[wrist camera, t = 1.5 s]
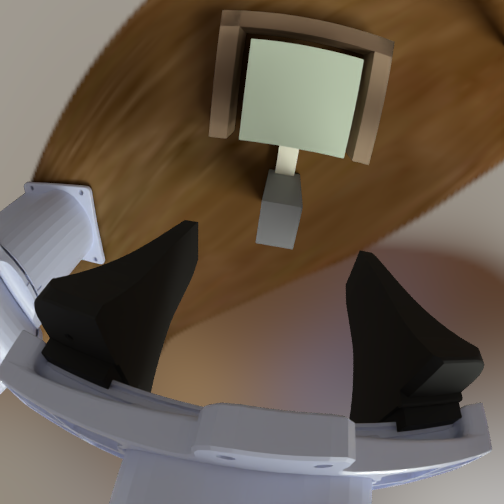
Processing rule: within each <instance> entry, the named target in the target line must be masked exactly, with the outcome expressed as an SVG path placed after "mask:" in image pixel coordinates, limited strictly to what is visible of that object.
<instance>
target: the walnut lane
mask: <svg viewBox="0 0 504 504" xmlns="http://www.w3.org/2000/svg"><path fill="white" fill-rule="evenodd" d="M246 33H247V34H259V35H269V36H277V37H285V38H292V39H298V40H304V41H309V42H314V43H319V44H324V45H328V46H333V47H337V48H341V49H345V50H349V51H352V52H356V53H359V54H363V60H364V62H363V68H362V74H361V79H360V85H359V90H358V95H357V100H356V105H355V110H354V115H353V120H352V125H351V129H350V134H349V138H348V143H347V147H346V153H347V154H348V156H349V157H350V158H351V160H352V161H355V162H359V163H363V164H367V165H369V161H370V158H371V154H372V150H373V146H374V142H375V138H376V134H377V130H378V126H379V122H380V117H381V113H382V108H383V104H384V99H385V94H386V89H387V84H388V79H389V73H390V67H391V61H392V55H393V49H394V41H391V40H388V39H385V38H383V37H380V36H377V35H374V34H371V33H367V32H364V31H361V30H357V29H354V28H350V27H347V26H343V25H339V24H335V23H330V22H326V21H321V20H316V19H311V18H305V17H300V16H293V15H286V14H278V13H269V12H258V11H242V10H222V17H221V24H220V31H219V39H218V47H217V55H216V64H215V73H214V83H213V93H212V104H211V115H210V128H209V137H217V138H227V137H228V136H230V135H231V134H232V133H233V132H234V131H235V122H236V112H237V103H238V95H239V86H240V78H241V70H242V62H243V54H244V46H245V39H246Z"/></svg>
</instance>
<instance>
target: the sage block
mask: <svg viewBox="0 0 504 504" xmlns="http://www.w3.org/2000/svg"><path fill="white" fill-rule="evenodd" d="M363 62H364V60H363V59H360V58H356V57H353V56H349V55H345V54H342V53H338V52H333V51H329V50H325V49H320V48H315V47H310V46H305V45H299V44H293V43H286V42H279V41H271V40H262V39H251V45H250V52H249V60H248V67H247V75H246V83H245V91H244V99H243V108H242V116H241V125H240V134H239V140H246V141H253V142H260V143H267V144H273V145H279V151H278V157H277V163H276V170H272V169H269V172H268V177H267V181H266V185H265V190H264V194H263V198H262V204H261V211H260V217H259V224H258V231H257V237H256V243H259V244H265V245H271V246H277V247H283V248H288V249H293V246H294V242H295V238H296V233H297V229H298V225H299V221H300V216H301V212H302V195H301V183H300V174H295V167H296V162H297V157H298V151H299V149H302V150H307V151H312V152H317V153H322V154H326V155H331V156H335V157H340V158H344V155H345V151H346V147H347V143H348V138H349V134H350V129H351V125H352V120H353V115H354V110H355V105H356V100H357V95H358V90H359V85H360V79H361V74H362V68H363Z"/></svg>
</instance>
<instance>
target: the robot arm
mask: <svg viewBox="0 0 504 504" xmlns="http://www.w3.org/2000/svg"><path fill="white" fill-rule="evenodd" d="M24 189H25V194H23V195H22V196H20V197H19V198H18V199H16V200H15V201H14V202H12V203H11V204H10V205H9V206H7V207H6V208H4V209H3V210H2V211H1V212H0V394H1V393H2V392H3V391H4V390H5V389H6V388H8V389H9V390H10V391H11V392H12V393H13V394H15V396H17V397H18V398H19V399H20V400H21V401H22V402H23V403H24V404H26V405H27V406H28V407H30V408H31V409H33V410H34V411H36V412H37V413H39V414H40V415H42V416H43V417H45V418H47V419H48V420H50V421H51V422H53V423H55V424H56V425H58V426H59V427H61V428H63V429H64V430H66V431H68V432H70V433H71V434H73V435H75V436H77V437H79V438H80V439H82V440H84V441H86V442H88V443H90V444H92V445H94V446H96V447H98V448H100V449H102V450H104V451H106V452H108V453H111V454H113V455H115V456H117V457H120V458H122V459H123V461H122V463H121V467H120V470H119V473H118V476H117V479H116V482H115V485H114V489H113V492H112V496H111V499H110V502H109V504H371V503H372V490H375V489H382V488H387V487H392V486H397V485H401V484H406V483H410V482H414V481H418V480H422V479H426V478H430V477H433V476H436V475H439V474H443V473H446V472H449V471H453V470H455V469H457V468H460V467H462V466H464V465H466V464H468V463H470V462H472V461H474V460H476V459H478V458H480V457H482V456H484V455H485V454H487V453H489V452H491V450H492V446H491V440H490V434H489V430H488V425H487V420H486V416H485V411H484V407H483V403H481V402H480V403H475V404H470V405H466V406H463V407H461V408H460V406H459V402H460V401H462V394H461V392H462V391H463V390H464V389H465V388H466V387H468V386H469V385H470V384H471V383H472V382H473V381H474V380H475V379H476V378H477V377H478V376H479V375H480V374H481V372H482V370H483V368H484V362H483V359H482V357H481V354H480V351H479V349H478V348H477V347H476V346H474V345H472V344H470V343H468V342H467V341H465V340H464V339H462V338H460V337H459V336H457V335H456V334H455V333H453V332H452V331H450V330H449V329H447V328H446V327H445V326H443V325H442V324H441V323H439V322H438V321H437V320H436V319H435V318H433V317H432V316H431V315H430V314H429V313H428V312H426V311H425V310H424V309H423V308H422V307H421V306H420V305H419V304H418V303H417V302H416V301H415V300H414V299H413V298H412V297H411V296H410V295H409V294H408V293H407V292H406V290H405V289H404V288H403V287H402V286H401V285H400V284H399V283H398V281H397V280H396V279H395V278H394V277H393V276H392V275H391V273H390V272H389V271H388V270H387V269H386V267H385V266H384V265H383V264H382V263H381V262H380V261H379V259H378V258H377V257H376V256H375V255H374V254H372V253H370V252H365V251H359V254H358V257H357V259H356V262H355V264H354V267H353V269H352V271H351V274H350V277H349V278H348V281H347V283H346V305H347V311H348V317H349V324H350V330H351V337H352V344H353V360H354V361H353V364H354V365H353V366H354V367H353V371H354V372H353V392H352V404H351V412H350V419H348V418H347V417H345V416H340V415H333V414H322V413H307V412H295V411H285V410H276V409H269V408H261V407H255V406H247V405H242V404H230V403H216V404H209V405H207V406H204V407H202V406H197V405H193V404H189V403H185V402H181V401H177V400H174V399H170V398H167V397H163V396H160V395H156V394H153V393H151V389H152V385H153V380H154V376H155V372H156V368H157V364H158V360H159V357H160V354H161V350H162V347H163V344H164V340H165V337H166V334H167V331H168V328H169V325H170V323H171V320H172V318H173V315H174V313H175V311H176V309H177V307H178V305H179V303H180V301H181V299H182V297H183V295H184V293H185V291H186V289H187V287H188V285H189V283H190V280H191V278H192V276H193V273H194V270H195V267H196V264H197V261H198V222H193V221H187V220H185V221H183V222H181V223H180V224H178V225H176V226H175V227H173V228H172V229H170V230H169V231H167V232H166V233H164V234H163V235H161V236H159V237H158V238H156V239H155V240H153V241H151V242H150V243H148V244H146V245H144V246H143V247H141V248H139V249H138V250H136V251H134V252H132V253H130V254H128V255H126V256H124V257H121V258H119V259H117V260H115V261H112V262H109V263H107V264H104V265H102V266H99V267H96V268H93V269H90V270H87V271H83V272H80V273H76V274H72V275H69V274H70V273H71V271H72V270H73V269H74V268H75V267H76V265H77V264H78V263H79V262H80V261H81V260H86V261H90V262H94V263H98V264H103V263H104V262H105V257H104V253H103V248H102V244H101V239H100V234H99V229H98V224H97V219H96V213H95V208H94V201H93V195H92V190H91V188H90V187H89V186H85V185H72V184H58V183H41V182H26V183H25V184H24ZM81 190H82V191H83V192H82V191H81ZM41 324H42V325H43V327H44V329H45V331H46V332H47V334H48V335H49V337H50V339H49V341H48V342H47V344H46V343H45V342H44V341H43V340H42V337H43V336H42V331H41V329H40V327H39V326H40V325H41Z"/></svg>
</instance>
